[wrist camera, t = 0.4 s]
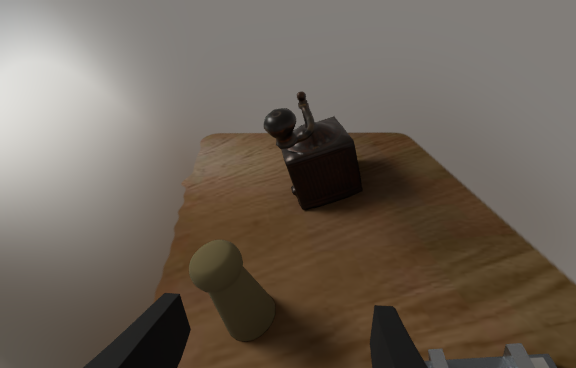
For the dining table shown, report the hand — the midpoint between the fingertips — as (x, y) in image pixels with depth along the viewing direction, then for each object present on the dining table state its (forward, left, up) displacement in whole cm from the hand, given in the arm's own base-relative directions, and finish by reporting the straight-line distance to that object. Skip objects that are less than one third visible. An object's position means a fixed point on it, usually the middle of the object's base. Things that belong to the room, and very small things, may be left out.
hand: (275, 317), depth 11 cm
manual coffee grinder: (+32, +1, -20) cm, 37 cm away
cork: (+12, +11, -20) cm, 25 cm away
